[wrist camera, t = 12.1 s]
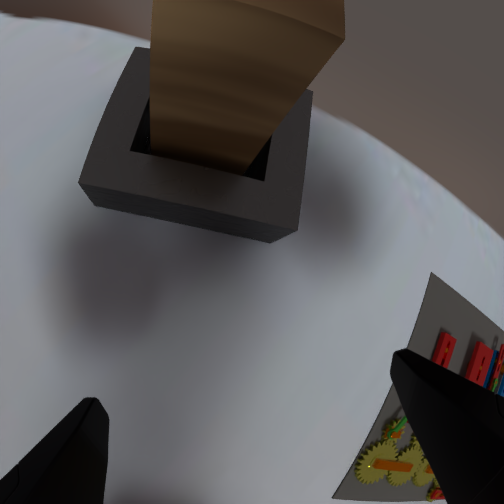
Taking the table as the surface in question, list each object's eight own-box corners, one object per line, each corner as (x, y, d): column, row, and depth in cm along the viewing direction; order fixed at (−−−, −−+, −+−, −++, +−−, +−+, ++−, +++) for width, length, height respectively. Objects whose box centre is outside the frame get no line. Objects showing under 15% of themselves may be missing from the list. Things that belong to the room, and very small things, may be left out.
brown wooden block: (233, 188, 19) (344, 39, 7) (151, 169, 18) (154, -15, 5) (242, 145, 20) (343, -12, 7) (165, 127, 18) (190, -58, 6)
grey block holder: (270, 243, 19) (297, 230, 15) (94, 205, 17) (78, 182, 13) (288, 122, 21) (313, 91, 17) (137, 85, 18) (135, 46, 14)
